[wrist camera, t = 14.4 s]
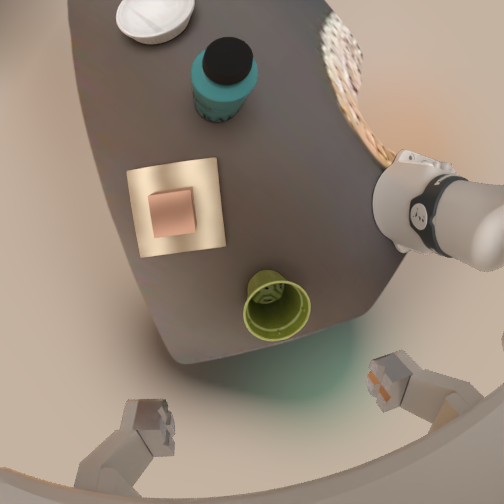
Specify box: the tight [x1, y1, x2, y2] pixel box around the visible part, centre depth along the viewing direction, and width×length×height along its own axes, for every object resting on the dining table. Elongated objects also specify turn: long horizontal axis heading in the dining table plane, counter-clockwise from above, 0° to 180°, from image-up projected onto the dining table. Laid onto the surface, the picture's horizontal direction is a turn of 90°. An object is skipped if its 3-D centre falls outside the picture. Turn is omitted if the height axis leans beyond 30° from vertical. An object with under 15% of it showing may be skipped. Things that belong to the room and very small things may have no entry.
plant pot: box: [243, 270, 311, 341], centre depth 42 cm, size 9×9×9 cm
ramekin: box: [116, 0, 195, 44], centre depth 28 cm, size 11×11×5 cm
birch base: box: [127, 157, 226, 258], centre depth 38 cm, size 12×12×4 cm
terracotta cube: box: [148, 186, 197, 238], centre depth 34 cm, size 5×5×5 cm
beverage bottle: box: [191, 37, 258, 123], centre depth 27 cm, size 6×7×20 cm
